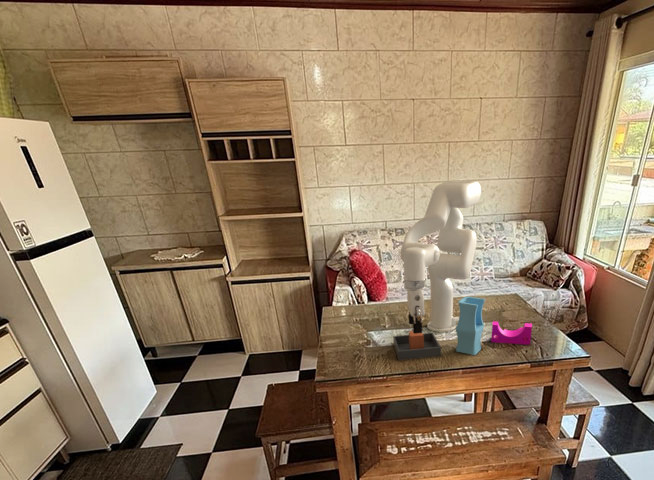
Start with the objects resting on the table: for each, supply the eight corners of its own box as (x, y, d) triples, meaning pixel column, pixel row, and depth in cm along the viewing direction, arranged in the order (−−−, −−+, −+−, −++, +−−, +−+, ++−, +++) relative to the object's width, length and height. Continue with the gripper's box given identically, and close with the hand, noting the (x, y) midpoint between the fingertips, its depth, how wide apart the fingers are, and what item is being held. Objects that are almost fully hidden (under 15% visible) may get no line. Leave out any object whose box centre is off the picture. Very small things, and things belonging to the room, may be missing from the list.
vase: (474, 356, 153) (477, 305, 143) (455, 351, 157) (456, 302, 147) (482, 348, 159) (485, 298, 149) (463, 344, 163) (465, 295, 153)
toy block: (529, 338, 165) (531, 321, 162) (529, 344, 160) (532, 327, 157) (492, 335, 169) (493, 319, 165) (491, 342, 164) (492, 324, 160)
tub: (432, 341, 166) (432, 332, 164) (440, 356, 154) (440, 347, 152) (393, 345, 164) (393, 336, 163) (398, 360, 152) (398, 351, 150)
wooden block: (421, 346, 161) (421, 330, 158) (423, 351, 157) (423, 335, 154) (409, 347, 161) (408, 331, 157) (411, 353, 157) (410, 336, 153)
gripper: (429, 289, 139) (429, 336, 147) (420, 276, 154) (420, 319, 162) (408, 291, 138) (409, 337, 146) (400, 278, 153) (402, 321, 161)
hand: (415, 328), depth 154 cm, fingers open, 9 cm apart
